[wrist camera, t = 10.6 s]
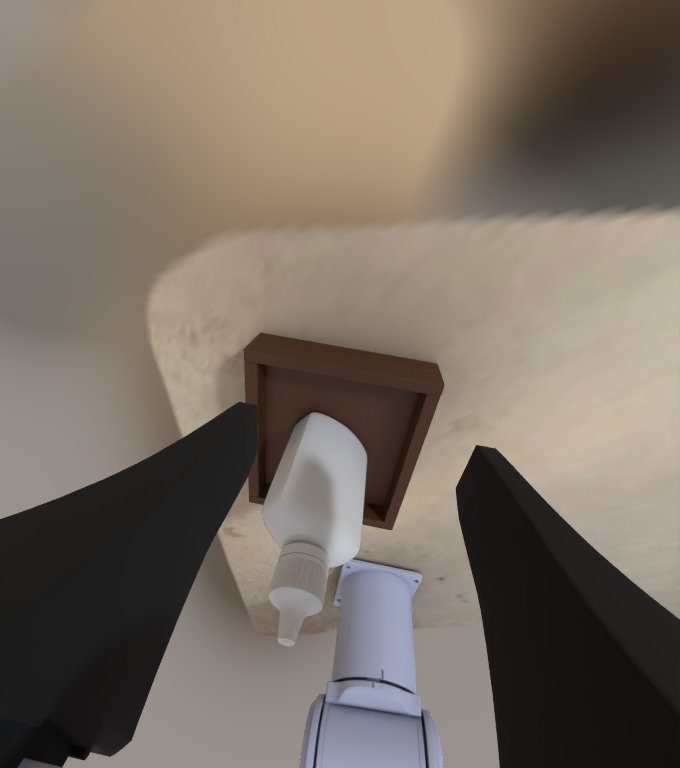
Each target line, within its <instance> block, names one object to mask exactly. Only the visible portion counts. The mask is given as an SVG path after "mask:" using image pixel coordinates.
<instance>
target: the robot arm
mask: <svg viewBox="0 0 680 768" xmlns="http://www.w3.org/2000/svg"><path fill="white" fill-rule="evenodd" d="M257 452H258V433H257V405H254V404H248V403H243V402H238V403H237V404H235V405H233V406H232V407H230V408H229V409H227V410H226V411H224V412H223V413H221V414H220V415H218V416H217V417H215V418H214V419H212V420H211V421H209V422H208V423H206V424H204V425H203V426H201V427H200V428H198V429H197V430H195V431H193V432H192V433H190V434H189V435H187V436H185V437H184V438H182V439H180V440H178V441H177V442H175V443H173V444H172V445H170V446H168V447H166V448H165V449H163V450H161V451H159V452H158V453H156V454H154V455H152V456H150V457H149V458H147V459H145V460H143V461H141V462H139V463H137V464H135V465H133V466H131V467H129V468H127V469H125V470H123V471H121V472H118V473H116V474H114V475H112V476H110V477H108V478H105V479H103V480H101V481H98V482H96V483H94V484H91V485H89V486H86V487H84V488H82V489H79V490H77V491H75V492H72V493H70V494H67V495H65V496H63V497H60V498H58V499H55V500H52V501H50V502H47V503H44V504H42V505H39V506H36V507H34V508H31V509H28V510H25V511H23V512H20V513H17V514H14V515H11V516H8V517H6V518H3V519H0V768H62V766H63V765H64V763H65V761H66V760H67V758H68V757H73V758H77V759H81V760H85V759H86V758H87V757H88V755H89V754H90V752H93V753H97V754H101V755H105V756H109V757H110V756H112V755H114V754H116V753H117V752H118V751H120V750H121V749H122V748H124V747H125V746H126V745H127V744H128V743H129V742H130V741H131V740H132V737H133V735H134V732H135V729H136V727H137V724H138V721H139V718H140V716H141V713H142V710H143V708H144V705H145V702H146V700H147V697H148V694H149V692H150V689H151V686H152V684H153V681H154V678H155V676H156V673H157V670H158V668H159V665H160V663H161V660H162V658H163V655H164V653H165V650H166V648H167V645H168V643H169V640H170V637H171V635H172V633H173V630H174V627H175V625H176V622H177V620H178V618H179V616H180V613H181V611H182V608H183V606H184V604H185V601H186V599H187V596H188V594H189V592H190V589H191V587H192V585H193V582H194V580H195V578H196V575H197V573H198V571H199V569H200V566H201V564H202V562H203V559H204V557H205V555H206V553H207V551H208V549H209V547H210V545H211V543H212V541H213V539H214V537H215V536H216V534H217V532H218V530H219V528H220V526H221V525H222V523H223V521H224V519H225V517H226V516H227V514H228V512H229V510H230V508H231V507H232V505H233V503H234V501H235V499H236V498H237V496H238V494H239V492H240V490H241V488H242V487H243V485H244V483H245V481H246V479H247V477H248V474H249V472H250V470H251V467H252V465H253V462H254V460H255V457H256V454H257ZM456 497H457V507H458V515H459V521H460V525H461V530H462V534H463V538H464V542H465V546H466V550H467V554H468V558H469V562H470V566H471V570H472V574H473V578H474V582H475V586H476V590H477V594H478V599H479V604H480V609H481V614H482V621H483V628H484V634H485V641H486V647H487V654H488V662H489V670H490V678H491V685H492V693H493V702H494V712H495V721H496V731H497V740H498V751H499V763H500V768H680V619H678V618H677V617H675V616H674V615H673V614H672V613H671V612H669V611H668V610H667V609H666V608H664V607H663V606H662V605H660V604H659V603H658V602H657V601H655V600H654V599H653V598H651V597H650V596H649V595H648V594H647V593H645V592H644V591H643V590H642V589H640V588H639V587H638V586H637V585H636V584H634V583H633V582H632V581H631V580H630V579H628V578H627V577H626V576H625V575H624V574H623V573H622V572H620V571H619V570H618V569H617V568H616V567H615V566H613V565H612V564H611V563H610V562H609V561H608V560H607V559H605V558H604V557H603V556H602V555H601V554H600V553H599V552H598V551H596V550H595V549H594V548H593V547H592V546H591V545H590V544H589V543H588V542H587V541H586V540H585V539H583V538H582V537H581V536H580V535H579V534H578V533H577V532H576V531H575V530H574V529H573V528H572V527H571V526H570V525H569V524H568V523H567V522H566V521H565V520H564V519H563V518H562V517H561V516H560V515H559V514H558V513H557V512H556V511H555V510H554V509H553V508H552V507H551V506H550V505H549V504H548V503H547V502H546V501H545V500H544V499H543V498H542V497H541V496H540V495H539V494H538V493H537V491H536V490H535V489H534V488H533V487H532V486H531V485H530V484H529V483H528V482H527V481H526V480H525V479H524V478H523V477H522V475H521V474H520V473H519V472H518V471H517V470H516V469H515V468H514V467H513V466H512V465H511V464H510V463H509V462H508V460H507V459H506V458H505V457H504V456H503V455H502V454H501V453H500V452H499V451H498V450H497V449H495V448H490V447H484V446H479V445H476V447H475V449H474V451H473V453H472V455H471V457H470V459H469V462H468V464H467V466H466V468H465V470H464V472H463V474H462V476H461V478H460V480H459V482H458V485H457V487H456ZM421 580H422V575H421V574H420V573H418V572H413V571H408V570H403V569H399V568H394V567H389V566H384V565H379V564H374V563H369V562H364V561H359V560H355V559H352V560H350V561H348V562H347V563H345V564H343V566H342V570H341V574H340V578H339V582H338V586H337V590H336V594H335V598H334V605H335V606H337V607H340V610H339V619H338V628H337V637H336V645H335V654H334V663H333V672H332V681H328V682H327V689H326V694H319V695H318V697H317V699H315V701H314V702H313V703H312V704H311V707H310V709H309V713H308V717H307V722H306V726H305V732H304V738H303V744H302V752H301V759H300V768H443V761H442V752H441V744H440V738H439V733H438V727H437V724H436V722H435V721H434V719H433V718H432V717H431V714H430V712H429V711H428V710H423V709H421V704H420V695H418V694H417V690H416V673H415V658H414V642H413V626H412V610H411V600H412V598H413V596H414V594H415V592H416V590H417V588H418V586H419V584H420V582H421Z"/></svg>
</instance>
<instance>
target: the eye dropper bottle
mask: <svg viewBox="0 0 680 768" xmlns="http://www.w3.org/2000/svg"><path fill="white" fill-rule="evenodd" d="M366 469H367V454H366V451H365V449H364V447H363V446H362V444H361V442H360V441H359V440H358V438H357V437H356V436H355V435H354V434H353V433H352V432H351V431H350V430H349V429H348V428H347V427H345V426H344V425H343V424H341V423H340V422H338V421H336V420H334V419H333V418H331V417H328V416H326V415H323V414H321V413H316V412H313V413H310V414H308V415H307V416H306V417H304V418H303V419H302V420H301V421H300V422H299V423H298V424H296V426H295V427H294V429H293V432H292V434H291V437H290V439H289V442H288V444H287V446H286V449H285V451H284V454H283V456H282V459H281V461H280V464H279V466H278V469H277V471H276V474H275V476H274V479H273V481H272V484H271V486H270V489H269V491H268V494H267V497H266V499H265V502H264V505H263V508H262V517H263V521H264V524H265V526H266V527H267V529H268V531H269V533H270V534H271V536H272V537H273V539H274V540H275V542H276V543H277V544H278V546H279V547H280V548H281V549H282V550H281V553H280V556H279V560H278V563H277V566H276V570H275V573H274V576H273V579H272V583H271V586H270V589H269V593H268V597H269V600H270V602H271V603H272V605H273V606H274V607H276V608H277V609H278V610H279V613H280V618H279V629H278V640H277V641H278V642H279V643H280V644H282V645H285V646H294V645H295V642H296V640H297V637H298V634H299V632H300V629H301V626H302V624H303V621H304V619H305V618H306V617H307V616H312V615H315V614H317V613H319V612H320V611H321V610H322V608H323V605H324V598H325V592H326V586H327V579H328V573H329V568H332V567H337V566H340V565H343V564H345V563H347V562H348V561H350V560H352V559H353V558H354V557H355V556H356V554H357V553H358V551H359V548H360V542H361V532H362V521H363V509H364V496H365V482H366Z"/></svg>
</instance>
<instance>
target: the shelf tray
mask: <svg viewBox="0 0 680 768" xmlns="http://www.w3.org/2000/svg"><path fill="white" fill-rule="evenodd" d="M244 361H245V391H246V403H248V404H254V405H257V433H258V452H257V454H256V457H255V460H254V462H253V465H252V467H251V470H250V472H249V474H248V478H249V502H252V503H257V504H262V505H264V502H265V499H266V497H267V494H268V491H269V489H270V486H271V484H272V481H273V479H274V476H275V474H276V471H277V469H278V466H279V464H280V461H281V459H282V456H283V454H284V451H285V449H286V446H287V444H288V442H289V439H290V437H291V434H292V432H293V429H294V427H295V426H296V424H298V423H299V422H300V421H301V420H302V419H303V418H304V417H306V416H307V415H308V414H310V413H313V412H316V413H321V414H323V415H326V416H328V417H331V418H333V419H334V420H336V421H338V422H340V423H341V424H343V425H344V426H345V427H347V428H348V429H349V430H350V431H351V432H352V433H353V434H354V435H355V436H356V437H357V438H358V440H359V441H360V442H361V444H362V446H363V447H364V449H365V451H366V454H367V469H366V482H365V496H364V509H363V521H362V524H363V525H368V526H373V527H378V528H383V529H388V530H392V529H393V526H394V523H395V520H396V517H397V515H398V512H399V509H400V506H401V504H402V501H403V498H404V495H405V493H406V490H407V487H408V484H409V482H410V479H411V476H412V473H413V470H414V468H415V465H416V462H417V459H418V457H419V454H420V451H421V448H422V446H423V443H424V440H425V437H426V435H427V432H428V429H429V426H430V424H431V421H432V418H433V415H434V413H435V410H436V407H437V404H438V402H439V399H440V396H441V394H442V391H443V388H444V382H443V379H442V376H441V373H440V370H439V367H438V364H435V363H430V362H424V361H418V360H412V359H407V358H401V357H395V356H390V355H384V354H378V353H372V352H367V351H361V350H355V349H350V348H344V347H338V346H332V345H327V344H321V343H315V342H310V341H304V340H298V339H293V338H287V337H281V336H275V335H270V334H264V333H260V334H259V335H258V336H257V337H256V338H255V339H254V340H253V341H252V342H251V343H250V344H249V345H248V346H247V347H246V348H245V349H244Z"/></svg>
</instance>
